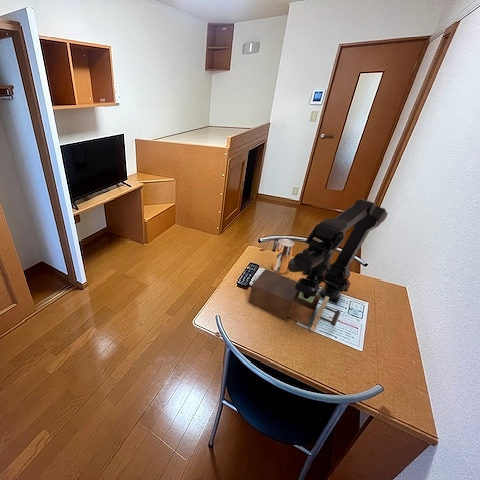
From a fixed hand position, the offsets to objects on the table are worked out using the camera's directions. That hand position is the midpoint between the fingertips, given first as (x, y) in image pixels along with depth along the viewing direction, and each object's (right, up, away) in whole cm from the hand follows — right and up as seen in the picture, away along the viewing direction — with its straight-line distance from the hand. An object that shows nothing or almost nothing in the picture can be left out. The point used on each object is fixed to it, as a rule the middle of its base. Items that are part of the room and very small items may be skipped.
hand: (307, 294), depth 93 cm
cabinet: (-7, -5, +12) cm, 15 cm away
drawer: (+2, -9, +4) cm, 10 cm away
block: (0, -1, +1) cm, 1 cm away
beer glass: (+4, +6, +29) cm, 30 cm away
